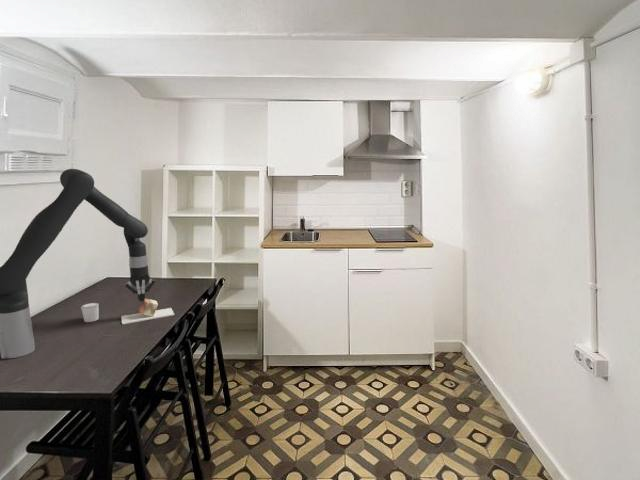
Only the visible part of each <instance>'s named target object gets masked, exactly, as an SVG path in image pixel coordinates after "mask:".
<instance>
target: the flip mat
mask: <svg viewBox="0 0 640 480" xmlns="http://www.w3.org/2000/svg"><path fill="white" fill-rule="evenodd" d="M171 316H175V313H174V310H173V309H172V307H168V308H162V309H156V311H155V314H154V316H148V315H143V314H140V312H139V313H132V314H128V315H122V316H121V325H128V324H134V323H138V322H139V323H140V322H143V321H149V320H155V319H162V318H166V317H167V318H168V317H171Z"/></svg>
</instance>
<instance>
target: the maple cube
mask: <svg viewBox="0 0 640 480" xmlns="http://www.w3.org/2000/svg"><path fill="white" fill-rule="evenodd" d="M139 306H140V307H139V309H138V312H139V313H140V314H143V315H148V316H154V314H155V311H156V310H158V306H159V304H158V301H157V300H154V299H149V298H146V297H145V300H144V301H142V302H141V304H140V305H139Z"/></svg>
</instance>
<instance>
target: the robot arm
mask: <svg viewBox="0 0 640 480" xmlns="http://www.w3.org/2000/svg"><path fill="white" fill-rule="evenodd" d="M59 182H60V184H61V185H62V190H61V192H60V193H59V194H58V196H57V197H56V198H55V200H54V201H52V202H51V203H50V204H49V205H48V206H46V207H44V208H43V209H42V210H41V211H39V212H38V213H37V214H36V215H35V217H33V219H32V220H31V221H30V222H29V224H28V226H27V227H26V228H25V230H24V232H23V233H22V235H21V237H20V238H19V241H18V242H17V244H16V247H15V248H14V250H13V251H12V254H11V255H10V256H9V257H8V259H7V260H5V262H4V263H3V264H2V266H0V358H1V360H3V359H16V358H21V357H23V356H24V357H25V356H27V355H30V354H31V353H33V352H34V351H35V350H36V344H35V338H34V332H33V323H32V317H31V309H30V304H29V293H28V287H27V286H28V285H27V284H28V283H27V278H28V276H29V275H30V272H31V271H32V269H33V268H34V266H35V265H36V263H37V262H38V261H39V259H40V258H41V257H42V256H43V255H44V253H46V251H47V250H48V249H49V248H50V247H51V245H52V244H53V243H54V241H55V240H56V239H57V237H58V236H59V235H60V233H61V232H62V230H63V228H64V227H65V225H66V224H67V223H68V222H69V220H70V219H71V217H72V215H73V214H74V213H75V211H76V210H77V208H78V207H79V206H80V205H81V204H82V203H83V202H84V201H86V203H88V204H90V205H91V206H93V207H94V208H95V209H96V210H98V212H99V213H101V214H102V215H103V216H104V217H106V218H107V219H108V220H109V221H111V222H112V223H113V224H114V225H116V226H117V227H121V228H123V236H124V239H125V242H126V244H127V247H128V257H129V260H128V263H129V264H128V266H129V275H130V278H129V280H128V282H126V283H125V284H124V285H125V288H127V289H128V290H129V291H130V292H132V293H133V294H135V295H137V300H138V301H139V302H141V303H142V301H144V300H145V298H146V295H145V294H146V293H148V292H149V291H150V290H151V289H152V288H153V286H154V284H155V283H156V281H155V279H152V278H151V276H150V274H149V264H148V257H147V247H146V244H145V243H144V242H142V241H141V239H143V238H145V237H146V236H147V234H148V232H149V231H148V227H147V225H146V224H145V223H144V222H143V221H141V220H140V219H138V218H137V217H135V216H133V215H131V214H130V213H128V211H126V210H125V209H124V208H123V207H122V206H121V205H120V204H118V203H116V201H114V200H112V199H111V198H110V197H108V196H106V195H105V193H102V192H101V191H100V190H99V189H98V188H96V186H95V180H94V177H93V176H92V175H91V174H89V173H88V172H86V171H84V170H81V169H77V168H69V169H66V170H64V171H63V172H61V174H60V177H59ZM148 283H149V284H148ZM147 284H148V285H147ZM132 285H133V286H134V287H136V289H135V288H134V287H133V286H132Z"/></svg>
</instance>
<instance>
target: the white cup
mask: <svg viewBox="0 0 640 480" xmlns="http://www.w3.org/2000/svg"><path fill="white" fill-rule="evenodd" d="M99 305H100V304H99V303H98V302H92V303H91V302H90V303H89V302H88V303H86V304H83V305H81V306H80V309H81V313H82V317H83V321H84V323H85V322H86V323H90V322H91V323H92V322H96V321H97V320H99V316H100V315H99V313H100V312H99Z"/></svg>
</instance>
